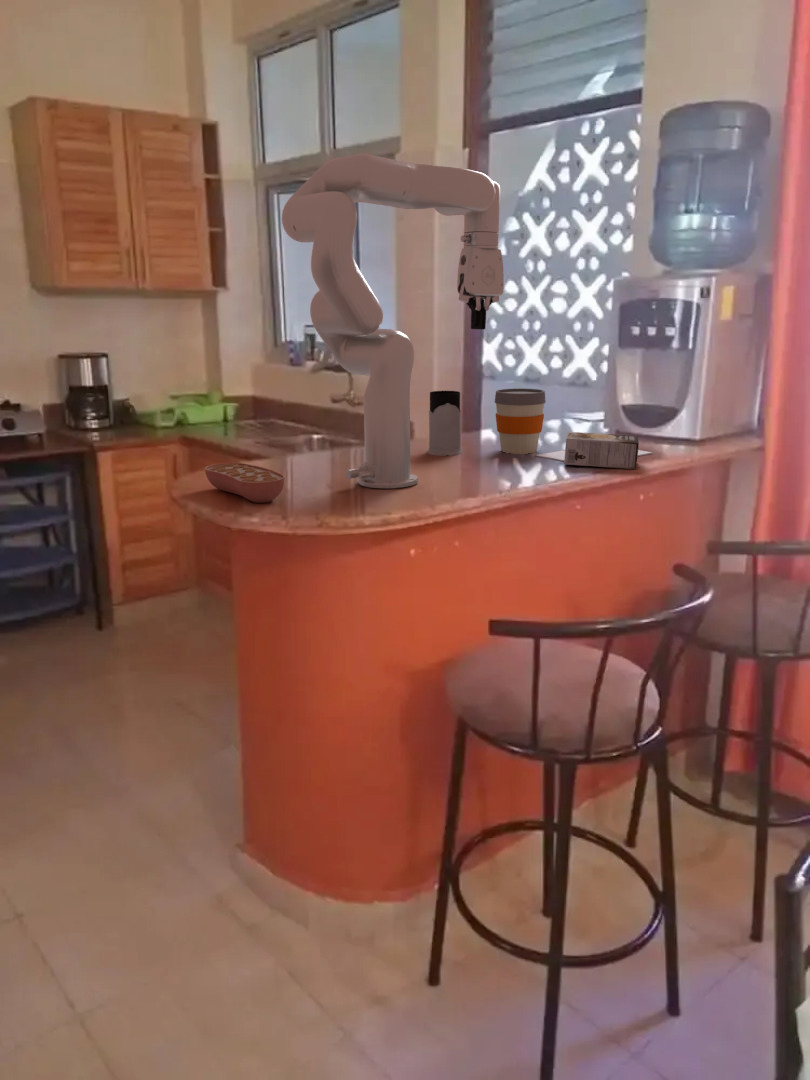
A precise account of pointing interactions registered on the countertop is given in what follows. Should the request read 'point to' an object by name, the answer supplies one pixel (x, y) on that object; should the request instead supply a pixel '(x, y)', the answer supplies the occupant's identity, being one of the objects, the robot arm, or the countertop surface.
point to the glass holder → (444, 423)
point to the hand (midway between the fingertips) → (478, 329)
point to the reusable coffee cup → (519, 419)
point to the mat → (561, 455)
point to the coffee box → (601, 450)
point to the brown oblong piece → (246, 481)
